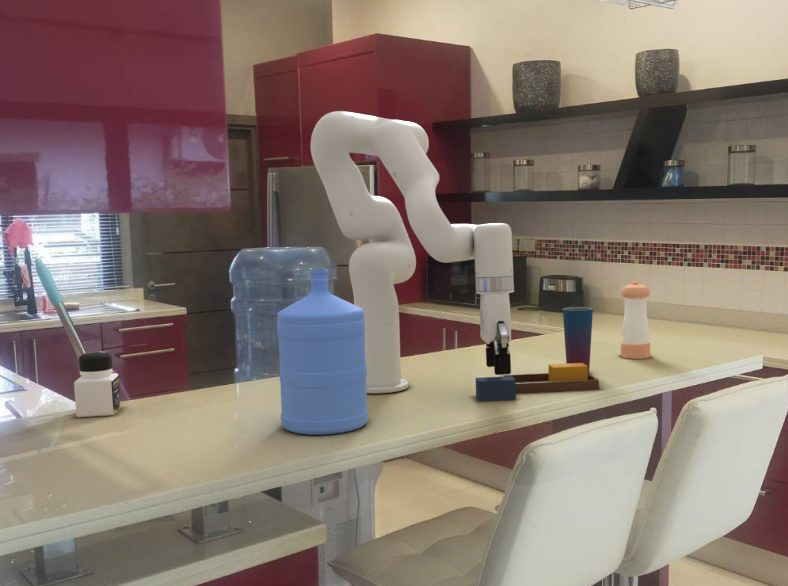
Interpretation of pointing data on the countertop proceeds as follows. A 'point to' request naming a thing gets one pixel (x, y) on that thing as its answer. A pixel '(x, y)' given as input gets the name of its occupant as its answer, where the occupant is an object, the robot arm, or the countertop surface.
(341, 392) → the water jug
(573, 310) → the cup
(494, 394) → the dark blue block
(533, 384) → the tray
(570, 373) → the orange rectangular block
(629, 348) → the pepper shaker
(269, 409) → the countertop surface
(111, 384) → the medicine bottle
